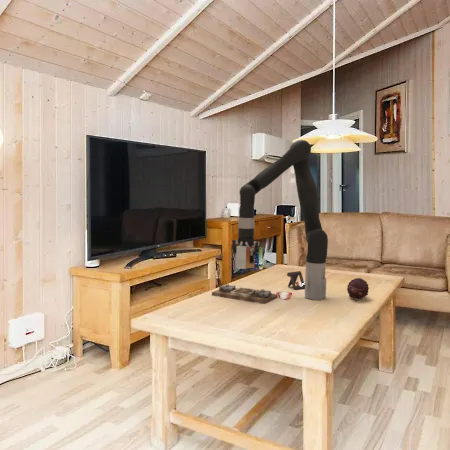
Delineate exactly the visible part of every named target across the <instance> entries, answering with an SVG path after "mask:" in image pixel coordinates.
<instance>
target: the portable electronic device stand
mask: <svg viewBox="0 0 450 450" xmlns="http://www.w3.org/2000/svg"><path fill="white" fill-rule="evenodd" d="M286 276H287V277H288V278H290V280H289V283H288V285H287V287H288V288H290V287H291V286H292V289H293V290H294V291H297V290H302V289H303V290H305V285H303V286H302V283H304V284H305V280H304V277H303V274H302V271H301V270H297V271H296V270H295V271H290V272H286ZM298 277H299V279H300V284H301V285H296V282H297V280H298Z"/></svg>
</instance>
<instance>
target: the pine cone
mask: <svg viewBox="0 0 450 450" xmlns="http://www.w3.org/2000/svg"><path fill="white" fill-rule="evenodd" d="M369 289H370V287H369V284H368V281H366V280H364V279H363V278H361V277H358V278H353V279H351V280H350V281H349V282H348V284H347V289H346V290H347V294H348V296H349V297H350V298H351V299H355V300H356V299H358V300H359V299H360V300H362V299H364V298H366V297H367V296H368V295H369Z"/></svg>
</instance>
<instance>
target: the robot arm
mask: <svg viewBox="0 0 450 450" xmlns="http://www.w3.org/2000/svg"><path fill="white" fill-rule="evenodd" d="M311 153H312V147H311V144H310V143H309V142H308V141H307V140H304V139H298V140H296V141H295V142H293V143H292V144H291V145H290V146H289V149H288V150H287V151H286V152H285V153H284V154H283V155H282V156H281V157H280V158H278V159H277V160H275V161H274V162H272V163H271V164H270V165H268V166H267V167H265V168H264V169H263V170H261V171H260V172H259V173H258V174H257V175H256V176H254V177H253V179H250V180H249V181H248V182H247V183H245V184H244V185H242V186H241V188H240V189H239V211H238V212H239V213H238V225H237V226H238V227H237V228H238V229H237V233H238V235H237V239H233V240H232V241H231V243H232V244H231V245H232V250H233V253H235V254H236V251H237V246H247V247H249V251H250V263H253V262H254V256H255V255H258V254H259V251H260V245H261V242H260V241H256V240H255V238H254V237H255V202H256V199H255V198H256V195H257V194H258V193H259V192H260V191H262V190H263V189H265V188H267V187H268V186H269V185H271V184H272V183H273V182H274V181H276V180H277V179H278V178H279V177H280V176H282V174H283V173H285V172H286V171H287V170H288V169H289V168H291V167H293V170H294V176H295V182H296V183H295V185H296V192H297V196H298V197H297V198H298V201H299V205H300V209H301V214H302V216H303V217H302V218H303V221H304V230H305V240H306V243H307V253H306V257H305V280H304V284H305V288H304V298H305V299H308V300H313V301H314V300H316V301H317V300H318V301H319V300H321V301H323V300H324V299H326V297H327V296H326V295H327V278H326V269H327V268H326V267H327V265H326V264H327V263H326V262H327V256H328V248H329V247H328V246H329V245H328V244H329V238H328V234H327V232H326V231H325V230H323V227H322V223H321V220H320V201H319V200H320V199H319V198H320V197H319V194H318V193H319V192H318V188H317V184H316V182H315V179H314V176H313V174H312V172H311V168H310V163H309V162H310V161H309V156H310V154H311ZM238 244H239V245H238ZM252 246H255V249H254V248H253V247H252ZM250 247H252V249H251V248H250Z"/></svg>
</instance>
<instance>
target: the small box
mask: <svg viewBox="0 0 450 450" xmlns="http://www.w3.org/2000/svg"><path fill="white" fill-rule="evenodd" d="M252 247H253V248H254V249H255V245H252ZM252 247H250V248H251V249H252ZM235 254H236V255H235V256H236V258H235V268H236V269H241V270H247V269H248V270H249V269H253V268H255V265H256V264H255V261H256V257H255V256H254V262H253V263H250V251H249V247H247V246H239V245H237V251H236V253H235Z"/></svg>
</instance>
